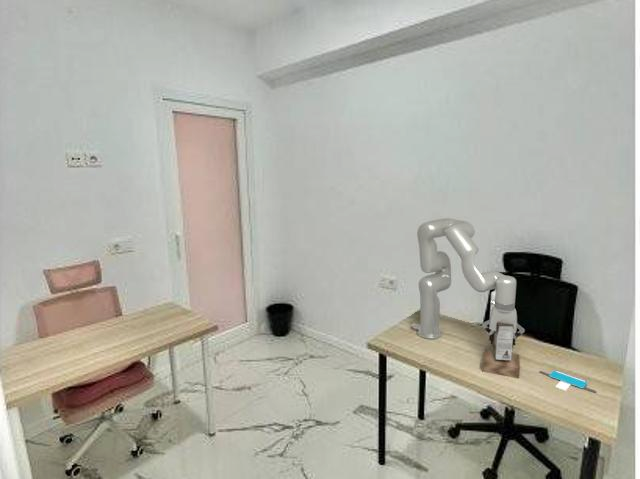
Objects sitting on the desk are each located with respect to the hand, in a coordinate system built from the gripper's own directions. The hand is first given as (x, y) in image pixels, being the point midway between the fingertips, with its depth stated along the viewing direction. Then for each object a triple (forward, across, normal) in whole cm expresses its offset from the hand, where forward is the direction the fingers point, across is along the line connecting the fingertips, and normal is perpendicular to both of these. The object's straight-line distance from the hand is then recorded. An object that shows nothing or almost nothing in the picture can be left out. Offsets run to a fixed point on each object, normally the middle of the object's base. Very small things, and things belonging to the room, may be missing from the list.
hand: (501, 343), depth 164 cm
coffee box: (+5, 0, 0) cm, 5 cm away
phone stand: (+12, +24, -2) cm, 27 cm away
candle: (+12, -4, +33) cm, 35 cm away
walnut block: (+12, 0, 0) cm, 12 cm away
